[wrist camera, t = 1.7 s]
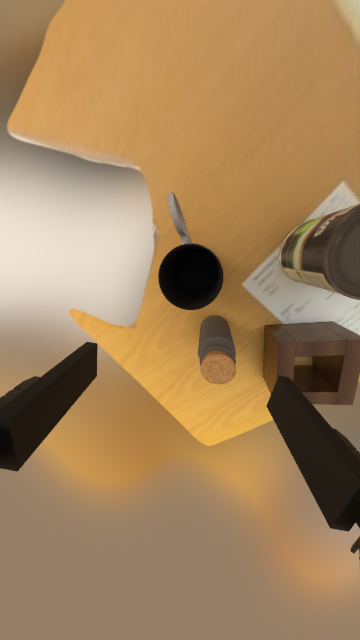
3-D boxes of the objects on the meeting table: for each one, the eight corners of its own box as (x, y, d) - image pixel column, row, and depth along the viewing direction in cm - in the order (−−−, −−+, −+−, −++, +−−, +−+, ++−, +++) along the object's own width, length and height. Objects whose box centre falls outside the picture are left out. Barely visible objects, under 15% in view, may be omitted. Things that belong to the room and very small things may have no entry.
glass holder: (182, 297, 37) (165, 321, 23) (160, 222, 33) (125, 198, 19) (225, 286, 35) (236, 305, 21) (207, 205, 31) (207, 164, 17)
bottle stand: (332, 321, 34) (367, 339, 27) (324, 375, 38) (352, 405, 31) (264, 325, 37) (278, 342, 29) (262, 376, 40) (275, 403, 33)
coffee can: (269, 240, 32) (313, 229, 18) (335, 205, 29) (442, 162, 16) (289, 292, 34) (341, 316, 21) (352, 265, 31) (458, 272, 18)
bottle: (202, 341, 40) (198, 388, 26) (199, 316, 38) (194, 351, 24) (229, 340, 39) (241, 388, 25) (228, 314, 37) (240, 349, 23)
